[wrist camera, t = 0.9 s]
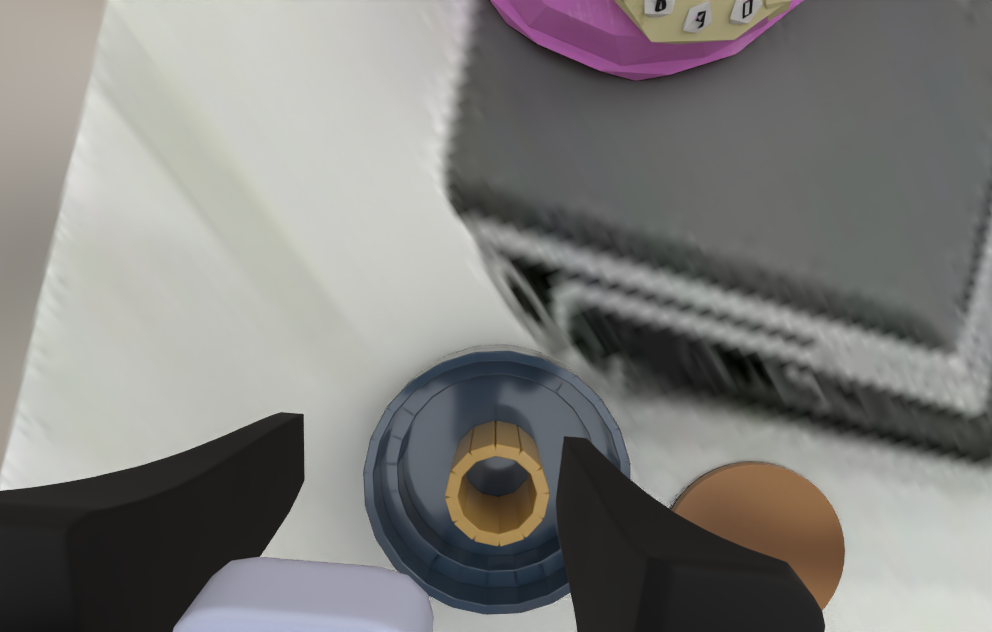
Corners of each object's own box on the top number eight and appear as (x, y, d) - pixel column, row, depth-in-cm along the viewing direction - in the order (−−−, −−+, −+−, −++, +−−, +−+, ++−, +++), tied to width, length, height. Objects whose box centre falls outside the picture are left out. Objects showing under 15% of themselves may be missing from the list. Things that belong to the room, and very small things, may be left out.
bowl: (642, 536, 28) (663, 570, 25) (421, 603, 29) (410, 646, 25) (574, 314, 28) (585, 317, 24) (349, 384, 28) (328, 397, 25)
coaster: (860, 606, 29) (866, 612, 28) (689, 658, 29) (692, 664, 28) (811, 438, 28) (816, 441, 28) (638, 491, 28) (641, 495, 28)
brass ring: (550, 491, 28) (561, 528, 23) (469, 516, 28) (463, 558, 23) (525, 410, 28) (531, 432, 23) (443, 436, 28) (432, 462, 23)
